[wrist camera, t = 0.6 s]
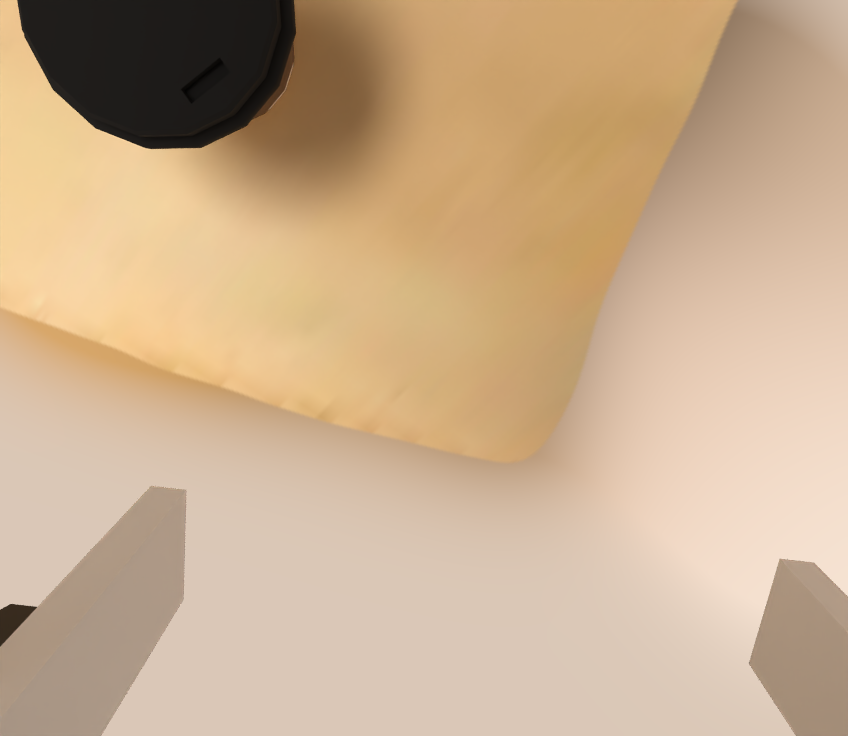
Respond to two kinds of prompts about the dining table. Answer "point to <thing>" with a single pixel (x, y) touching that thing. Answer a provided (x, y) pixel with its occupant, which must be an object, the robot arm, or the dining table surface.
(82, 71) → the coffee cup
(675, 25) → the dining table surface
